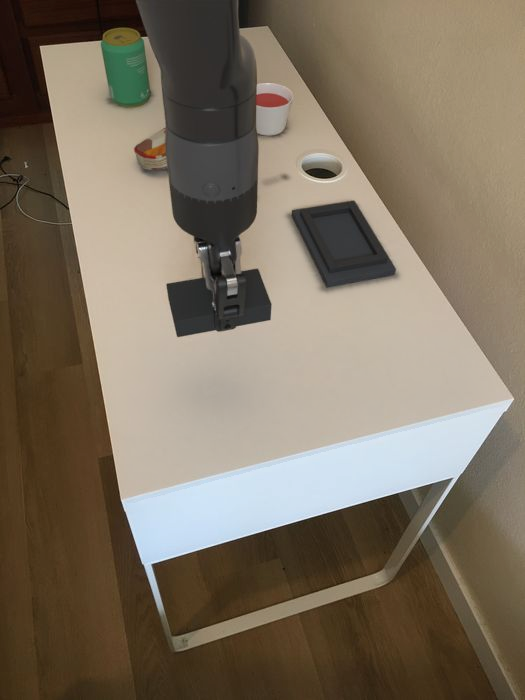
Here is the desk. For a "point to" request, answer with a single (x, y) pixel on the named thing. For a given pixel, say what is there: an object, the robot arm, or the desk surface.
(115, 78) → the beverage can
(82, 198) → the desk surface
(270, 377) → the desk surface
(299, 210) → the base pad
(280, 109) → the candle
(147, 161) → the pencil case
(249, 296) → the black pad
